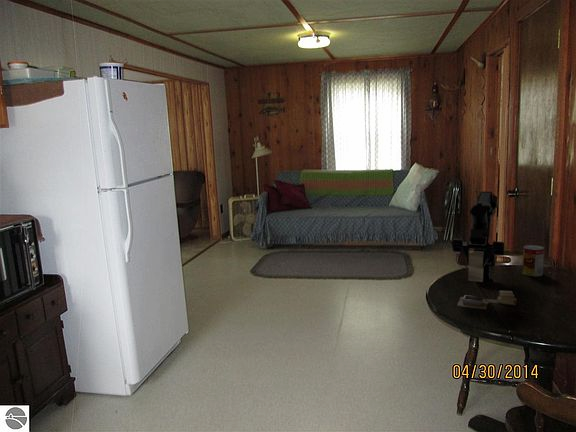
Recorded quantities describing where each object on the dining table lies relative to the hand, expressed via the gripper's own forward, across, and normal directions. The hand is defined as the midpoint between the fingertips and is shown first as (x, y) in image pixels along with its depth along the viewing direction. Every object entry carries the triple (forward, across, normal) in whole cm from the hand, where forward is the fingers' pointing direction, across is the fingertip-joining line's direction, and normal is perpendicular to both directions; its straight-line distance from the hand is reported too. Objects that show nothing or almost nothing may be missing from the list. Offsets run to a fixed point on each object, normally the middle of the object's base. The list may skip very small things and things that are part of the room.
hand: (475, 266), depth 176 cm
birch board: (+3, 0, +5) cm, 6 cm away
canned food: (-19, +19, +39) cm, 47 cm away
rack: (+12, +5, +7) cm, 15 cm away
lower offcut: (+9, +11, +9) cm, 17 cm away
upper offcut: (+8, +11, +8) cm, 16 cm away
